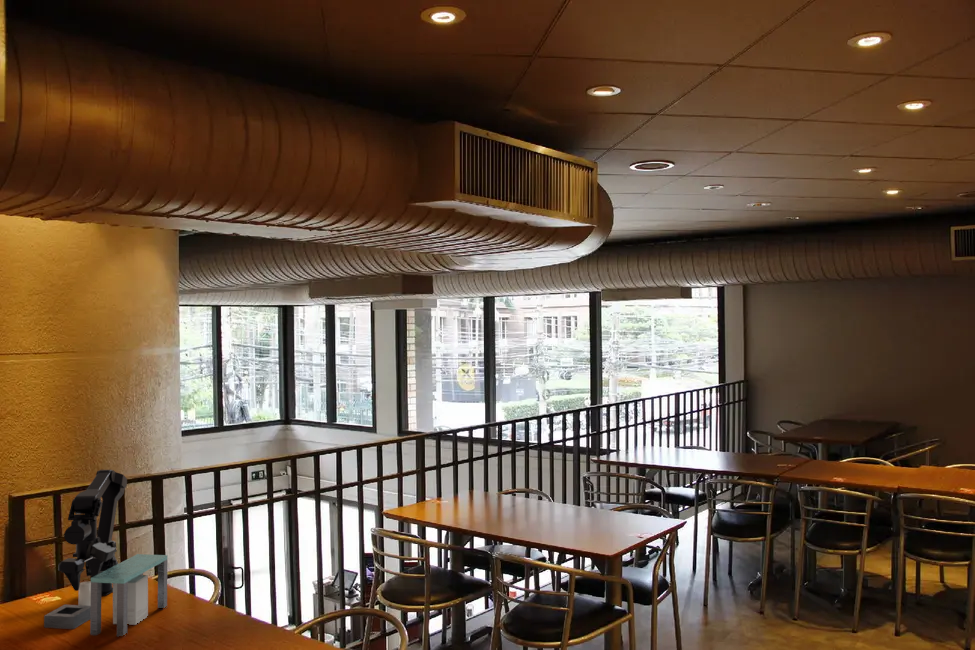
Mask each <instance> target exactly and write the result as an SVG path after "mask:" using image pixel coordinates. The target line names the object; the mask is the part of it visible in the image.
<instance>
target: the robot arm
mask: <svg viewBox="0 0 975 650" xmlns="http://www.w3.org/2000/svg"><path fill="white" fill-rule="evenodd" d="M127 484H128V478H127V477H126V476H125V475H124V474H122V473H119V472H117V471H115V470H113V469H99V470H97V471H96V473H95V477H94V478H93V480H92V481H91V483H90V484H89V486H88V487H87V488H86V490H83V491H80V492H79V493H78V494H77V495H76V496H75V497H74V499H72V501H71V505H70V507H69V508H70V509H69V513H68V516H67V521H71V524H70V526H68V527H67V528H66V529H65V531H64V534H63V538H64V541H66V542H67V543H68V544H70V545H75V552H74V553H72V558H71V557H68V558H65V559H64V560H62V561H60V562H59V563H58V567H57V568H58V569H57V570H58V572H61V573H62V574H64V576H65V577H66V578H67V580H68V581H69V583H70V585H71V586H72V589H73V590H74V591H75V592H79V585H80V583H81V575H82V573H83V572H84V571H85V572H86V576H87V577H91V578H92V577H94V576H96V575H98V574H100V573H102V572H104V571H105V570H107V569H109V568H111V567H113V566H115V565H117V564H119V562H118V560H117V558H116V552H118V549H117V542H116V541H115V540H112V539H113V533H114V527H115V520H116V512H117V507H118V502H119V501H120V499H121V498H122V496H123V495H124V493H125V489H126V488H127V486H128V485H127ZM101 499H102V500H101ZM98 517H99V519H98V520H99V522H98V521H97V518H98ZM97 522H98V525H97ZM97 526H98V528H97ZM84 567H85V568H84ZM112 593H113V583H102V584H101V596H108V595H110V594H112Z"/></svg>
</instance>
